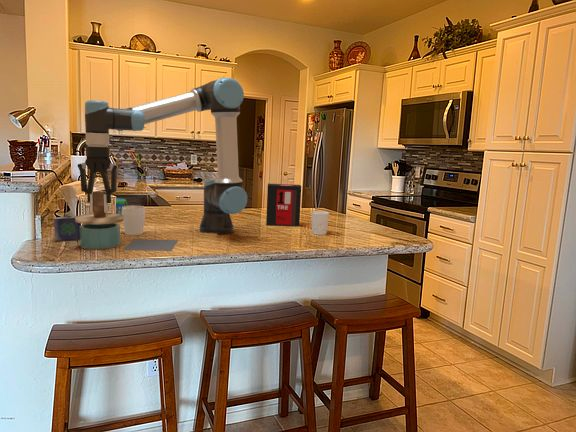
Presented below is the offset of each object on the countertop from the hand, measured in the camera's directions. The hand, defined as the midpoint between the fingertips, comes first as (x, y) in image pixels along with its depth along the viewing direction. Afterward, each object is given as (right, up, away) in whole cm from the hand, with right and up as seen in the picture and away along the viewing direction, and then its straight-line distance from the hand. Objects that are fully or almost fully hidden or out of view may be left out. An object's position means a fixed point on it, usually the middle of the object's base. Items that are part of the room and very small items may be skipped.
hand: (99, 211), depth 153 cm
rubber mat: (+17, -13, +5) cm, 22 cm away
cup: (+4, -10, +23) cm, 25 cm away
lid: (0, -3, 0) cm, 3 cm away
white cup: (+82, -10, +43) cm, 94 cm away
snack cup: (-16, -4, +53) cm, 56 cm away
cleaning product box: (+65, -6, +62) cm, 90 cm away
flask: (-17, -11, +10) cm, 22 cm away
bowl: (-1, -13, +2) cm, 13 cm away
